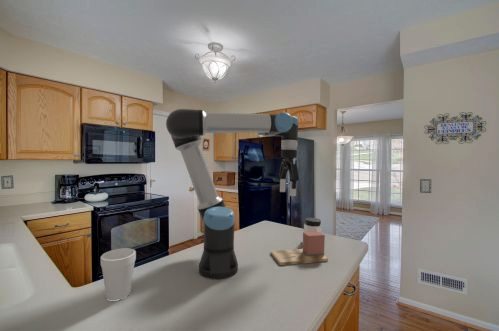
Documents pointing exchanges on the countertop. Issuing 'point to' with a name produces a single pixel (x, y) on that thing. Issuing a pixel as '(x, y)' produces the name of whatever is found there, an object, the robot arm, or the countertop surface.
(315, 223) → the jar
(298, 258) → the board
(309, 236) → the block
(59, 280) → the countertop surface
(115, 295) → the foam cup
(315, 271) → the countertop surface
